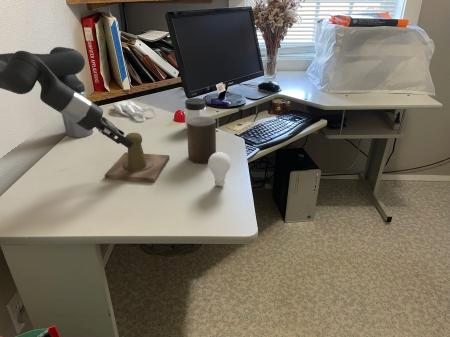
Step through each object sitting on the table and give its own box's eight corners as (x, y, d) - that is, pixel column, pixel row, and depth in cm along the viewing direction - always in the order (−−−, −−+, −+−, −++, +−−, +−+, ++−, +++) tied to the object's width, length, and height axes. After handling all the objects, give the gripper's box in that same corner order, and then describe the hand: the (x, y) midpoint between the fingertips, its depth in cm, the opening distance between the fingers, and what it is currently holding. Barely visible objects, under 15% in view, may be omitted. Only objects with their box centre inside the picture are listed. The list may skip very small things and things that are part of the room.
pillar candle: (210, 165, 115) (210, 123, 108) (183, 161, 117) (181, 120, 110) (219, 154, 123) (219, 114, 116) (194, 150, 125) (193, 111, 118)
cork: (142, 170, 108) (138, 138, 103) (124, 169, 109) (119, 137, 104) (149, 162, 113) (146, 131, 108) (132, 160, 114) (128, 129, 109)
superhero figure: (159, 118, 158) (123, 109, 171) (159, 105, 156) (122, 97, 169) (140, 122, 149) (103, 112, 162) (139, 109, 147) (102, 100, 160)
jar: (209, 130, 142) (208, 102, 136) (190, 134, 139) (189, 105, 133) (201, 123, 149) (200, 96, 143) (183, 126, 146) (181, 99, 140)
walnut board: (105, 178, 107) (104, 173, 106) (125, 156, 121) (125, 151, 120) (154, 182, 105) (154, 177, 104) (169, 159, 119) (169, 154, 118)
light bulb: (208, 180, 106) (207, 148, 101) (229, 179, 106) (229, 147, 101) (209, 192, 100) (208, 158, 95) (231, 191, 101) (232, 157, 95)
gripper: (68, 113, 100) (113, 142, 111) (77, 129, 89) (126, 159, 100) (83, 93, 100) (127, 123, 111) (95, 107, 89) (142, 139, 100)
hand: (126, 140), depth 106 cm, fingers open, 8 cm apart
